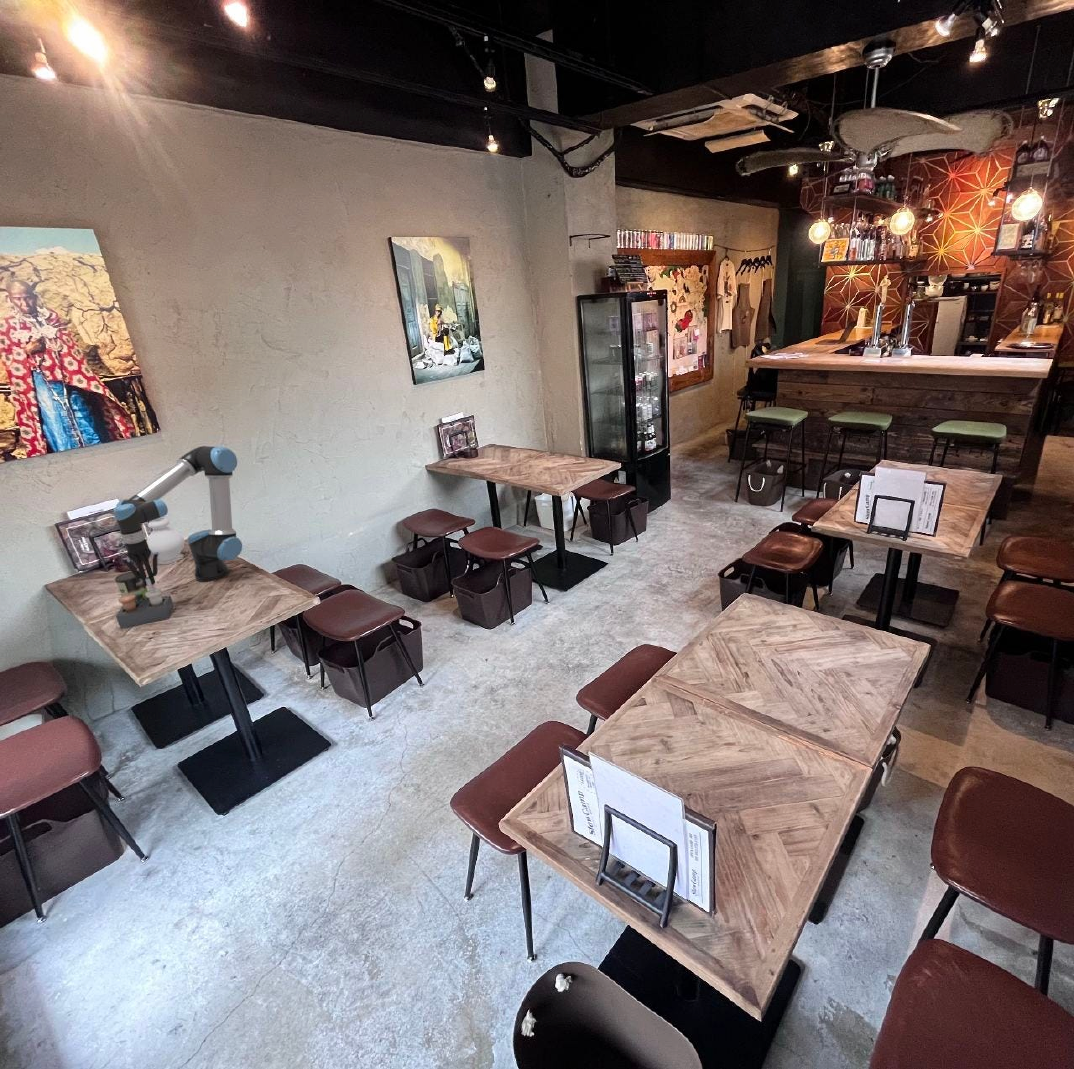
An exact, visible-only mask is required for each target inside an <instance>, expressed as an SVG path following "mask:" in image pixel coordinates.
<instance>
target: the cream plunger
mask: <svg viewBox="0 0 1074 1069" xmlns="http://www.w3.org/2000/svg"><path fill="white" fill-rule="evenodd" d="M162 594H163V592H162V589H161V588H155V592H154V593H150V592H149V590H148V592H146V593H145V595H146V597H147V598H149V600H150V603H151V605H152V606H155V605H160V604H163V600H162Z"/></svg>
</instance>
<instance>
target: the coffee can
mask: <svg viewBox="0 0 1074 1069" xmlns="http://www.w3.org/2000/svg"><path fill="white" fill-rule="evenodd" d="M138 572H139V570H138ZM139 573H140V572H139ZM114 582H115V583H116V585H117V588H118V591H119V593H120V596H121V597H122V596H124V595H128V594H135V597H136V598H135V599H134V601H135V602H137V601H142V600H147V599H149V598H147V597H146V595H145V593H146V592H148V591H149V589H148V586H145V585H144V582H143V580H142V579H137V578H136V577H135V575H134V574H133V573H132V571H131V570H130V571H128V572H124V573H122V574H119V575H118V576H116V577H115V578H114Z"/></svg>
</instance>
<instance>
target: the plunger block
mask: <svg viewBox="0 0 1074 1069" xmlns="http://www.w3.org/2000/svg"><path fill="white" fill-rule="evenodd" d="M161 597H162V600H163V604H160V605H155V606H152V605H151V603H150V600H149V599H147V600H142V601H137V602H135V603H136V606H137V608H136V609H135V610H130V611H125V610H124V607H123V605H122V606H121V608H120V609H119V611H118V612H117V614H116V616H115V617H116V620H117V623H118V625H119V628H120V629H126V628H127V629H128V628H131V627H136V626H141V625H145V624H149V623H155V622H159V621H165V620H169V619H170V617H171V615H172V612H173V610H174V608H175V605H174V602H173V599H172V596H171V594H167V595H163V596H162V595H161Z"/></svg>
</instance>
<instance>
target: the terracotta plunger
mask: <svg viewBox="0 0 1074 1069" xmlns="http://www.w3.org/2000/svg"><path fill="white" fill-rule="evenodd" d="M135 598H136V597H135V594H128V595H124V596H121V597H118V602H119V604H122V606H123V607H124V610H125V611H130V610H135V609H136V608H137V606H136V603H135V601H134V599H135Z"/></svg>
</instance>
